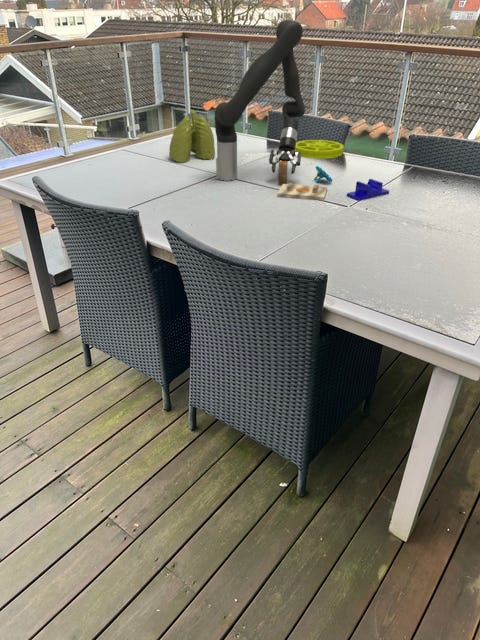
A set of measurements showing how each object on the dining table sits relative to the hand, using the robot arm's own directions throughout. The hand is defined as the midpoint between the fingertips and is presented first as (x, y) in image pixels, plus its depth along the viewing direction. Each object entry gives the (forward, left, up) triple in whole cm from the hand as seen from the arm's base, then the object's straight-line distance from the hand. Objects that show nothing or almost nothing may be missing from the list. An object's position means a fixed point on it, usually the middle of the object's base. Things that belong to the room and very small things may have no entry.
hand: (282, 172), depth 222 cm
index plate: (+11, -11, -6) cm, 16 cm away
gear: (+18, +9, -6) cm, 21 cm away
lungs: (-56, +35, -6) cm, 66 cm away
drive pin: (0, 0, -6) cm, 6 cm away
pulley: (+9, +65, -6) cm, 66 cm away
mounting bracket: (+39, -6, -6) cm, 40 cm away
